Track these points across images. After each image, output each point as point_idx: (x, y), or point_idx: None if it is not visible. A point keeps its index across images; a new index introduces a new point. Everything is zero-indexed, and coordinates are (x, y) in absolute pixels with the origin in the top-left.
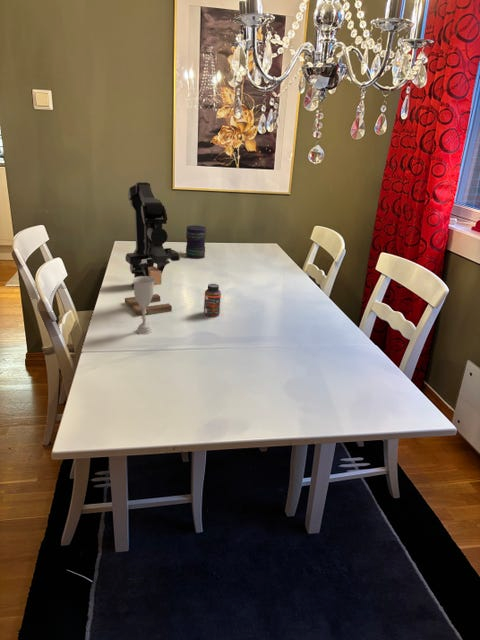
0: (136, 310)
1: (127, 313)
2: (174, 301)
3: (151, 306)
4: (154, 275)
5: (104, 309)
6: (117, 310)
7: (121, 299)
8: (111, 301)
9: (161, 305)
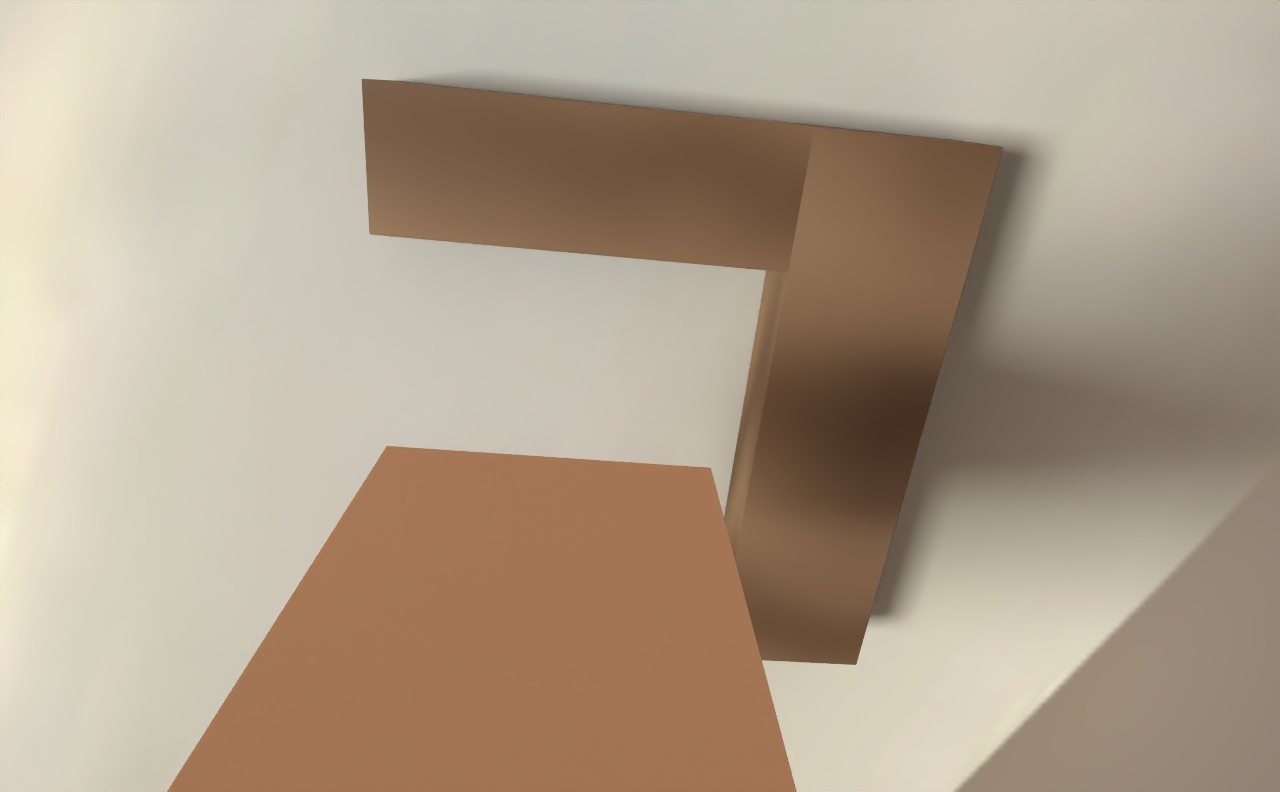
0: (978, 208)
1: (1010, 306)
2: (209, 428)
3: (701, 229)
4: (602, 687)
5: (1145, 537)
6: (1047, 451)
7: (807, 714)
8: (932, 703)
9: (525, 195)
